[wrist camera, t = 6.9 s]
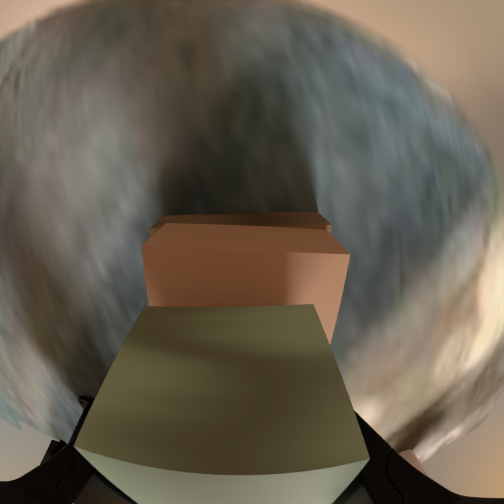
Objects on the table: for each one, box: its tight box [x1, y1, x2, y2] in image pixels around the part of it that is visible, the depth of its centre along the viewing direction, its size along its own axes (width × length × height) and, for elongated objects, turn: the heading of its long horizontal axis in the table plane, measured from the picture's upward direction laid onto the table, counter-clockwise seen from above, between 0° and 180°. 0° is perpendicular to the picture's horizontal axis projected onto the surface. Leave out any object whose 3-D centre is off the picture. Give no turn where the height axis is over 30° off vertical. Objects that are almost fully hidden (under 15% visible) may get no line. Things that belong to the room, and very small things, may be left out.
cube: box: [74, 304, 370, 504], centre depth 6 cm, size 5×5×5 cm
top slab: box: [142, 223, 350, 344], centre depth 11 cm, size 7×7×3 cm
